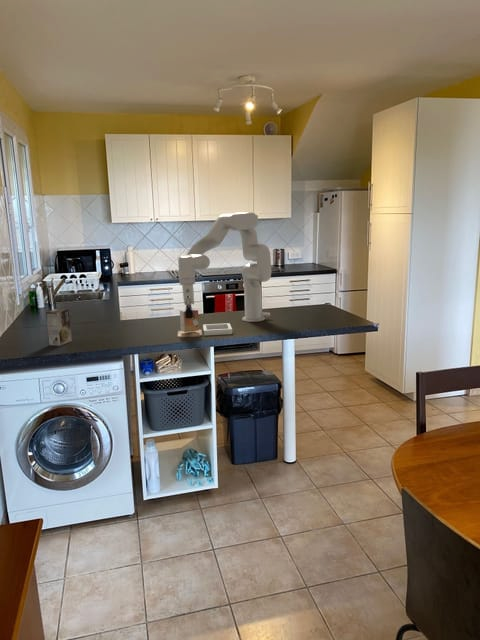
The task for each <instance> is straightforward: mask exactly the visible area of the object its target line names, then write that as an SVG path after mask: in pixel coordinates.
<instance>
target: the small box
mask: <svg viewBox="0 0 480 640" xmlns="http://www.w3.org/2000/svg"><path fill="white" fill-rule="evenodd" d="M190 310H191V309H190ZM192 316H193V318H186V309H180V310H179V319H180V322H179V324H180V325H179V326H180V331H183V332H190V331H199V330H200V323H199V322H200V321H199V319H200V318H199V310H198V309H197V308H192Z"/></svg>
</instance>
